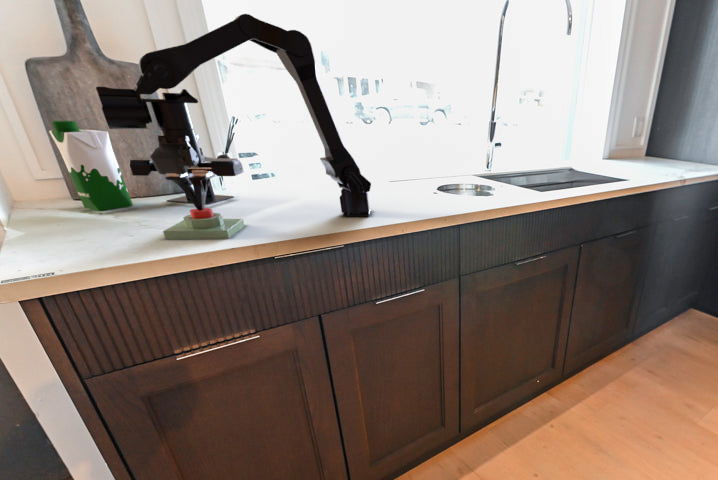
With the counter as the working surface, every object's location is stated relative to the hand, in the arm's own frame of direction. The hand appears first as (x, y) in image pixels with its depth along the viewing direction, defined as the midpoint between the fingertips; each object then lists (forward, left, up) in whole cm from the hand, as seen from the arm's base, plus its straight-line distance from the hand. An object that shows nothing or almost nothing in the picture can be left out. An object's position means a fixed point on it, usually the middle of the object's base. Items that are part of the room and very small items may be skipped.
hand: (200, 209), depth 91 cm
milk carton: (+30, -22, -5) cm, 38 cm away
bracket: (+13, -31, -5) cm, 33 cm away
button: (0, 0, -2) cm, 2 cm away
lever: (+8, -29, +5) cm, 30 cm away
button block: (0, 0, -5) cm, 5 cm away
